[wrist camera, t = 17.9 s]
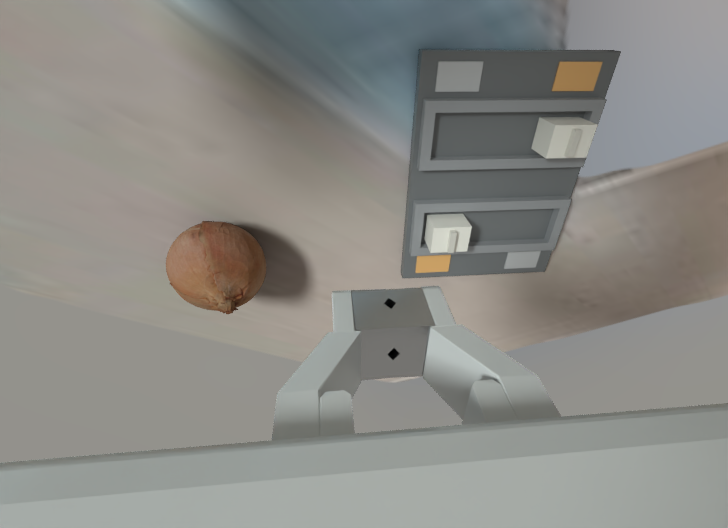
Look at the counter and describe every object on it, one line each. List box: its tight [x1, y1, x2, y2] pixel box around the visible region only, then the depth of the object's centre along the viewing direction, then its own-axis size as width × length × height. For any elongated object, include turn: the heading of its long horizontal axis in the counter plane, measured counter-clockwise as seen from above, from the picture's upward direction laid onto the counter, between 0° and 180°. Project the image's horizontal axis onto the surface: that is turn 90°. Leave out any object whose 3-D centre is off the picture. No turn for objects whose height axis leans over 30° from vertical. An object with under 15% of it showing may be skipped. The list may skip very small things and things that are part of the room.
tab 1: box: [424, 214, 472, 253], centre depth 40 cm, size 3×4×4 cm
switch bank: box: [401, 49, 621, 278], centre depth 40 cm, size 24×18×2 cm
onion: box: [166, 221, 266, 314], centre depth 38 cm, size 10×9×10 cm
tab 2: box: [531, 117, 598, 158], centre depth 35 cm, size 3×4×4 cm
